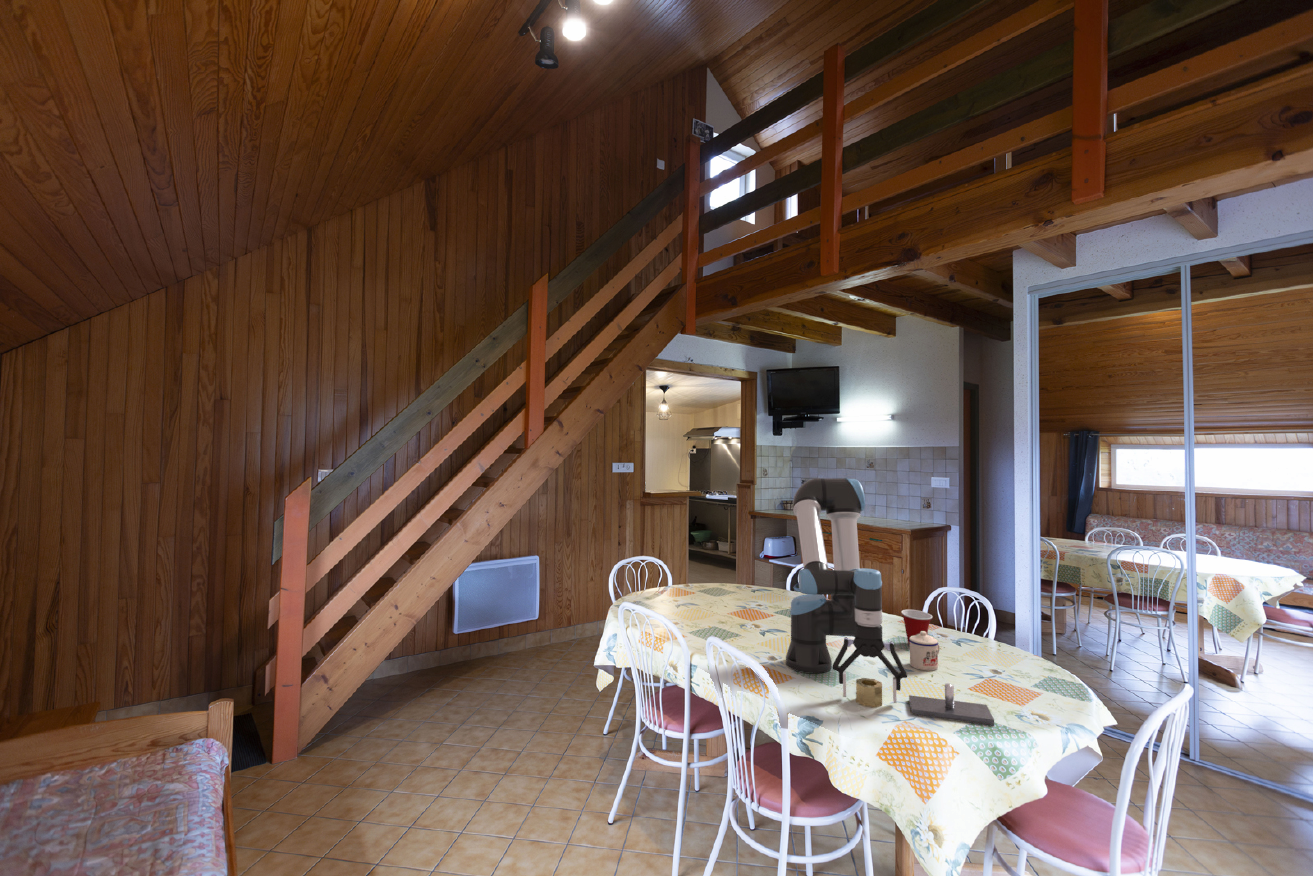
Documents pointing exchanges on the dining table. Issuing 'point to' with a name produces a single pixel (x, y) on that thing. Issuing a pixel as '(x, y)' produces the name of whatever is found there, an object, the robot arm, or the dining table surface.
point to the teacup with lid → (924, 652)
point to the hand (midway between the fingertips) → (869, 698)
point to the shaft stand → (950, 708)
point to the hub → (869, 692)
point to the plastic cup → (916, 622)
